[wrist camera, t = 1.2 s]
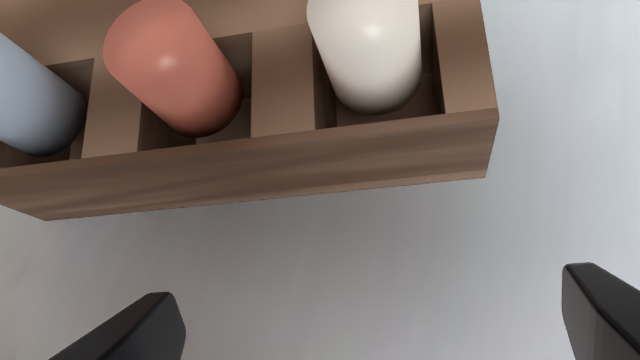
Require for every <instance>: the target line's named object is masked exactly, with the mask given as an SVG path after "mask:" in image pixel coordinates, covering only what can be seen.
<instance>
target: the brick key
mask: <svg viewBox="0 0 640 360" xmlns="http://www.w3.org/2000/svg"><path fill="white" fill-rule="evenodd" d="M103 59H104V63H105V66H106V68H107V70H108V71H109V73H110V74H111V75H112V76H113V77H114V78H115V79H116V80H118V81H119V82H120V83H121V84H122V85H123V86H124V87H126V88H127V89H128V90H129V91H130V92H131V93H132V94H134V95H135V96H136V97H137V98H138V99H139V100H140V101H142V102H143V103H144V104H145V105H146V106H147V107H148V108H149V109H151V110H152V111H153V112H154V113H155V114H156V115H157V116H159V117H160V118H161V119H162V120H163V121H164V122H165V123H167V124H168V125H169V126H170V127H171V128H172V129H173V130H175V131H176V132H177V133H179V134H181V135H183V136H186V137H190V138H202V137H207V136H210V135H213V134H215V133H217V132H219V131H221V130H222V129H224V128H225V127H226V126H227V125H228V124H229V123H230V122H231V121H232V120H233V119H234V118H235V116H236V115H237V113H238V111H239V109H240V107H241V104H242V100H243V86H242V83H241V80H240V78H239V76H238V75H237V73H236V72H235V70H234V69H233V67H232V66H231V65H230V63H229V62H228V60H227V59H226V57H225V56H224V55H223V53H222V52H221V50H220V49H219V47H218V46H217V45H216V43H215V42H214V40H213V39H212V37H211V36H210V35H209V33H208V32H207V30H206V29H205V27H204V26H203V25H202V23H201V22H200V20H199V19H198V17H197V16H196V15H195V13H194V12H193V10H192V9H191V8H190V7H189V6H188V5H187V4H186V3H185V2H183V1H182V0H141V1H139V2H137V3H135V4H133V5H132V6H130V7H129V8H127V9H126V10H125V11H124V12H123V13H121V14H120V15H119V16H118V18H117V19H116V20H115V21H114V22H113V24H112V25H111V27H110V29H109V30H108V33H107V35H106V37H105V41H104V45H103Z"/></svg>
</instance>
